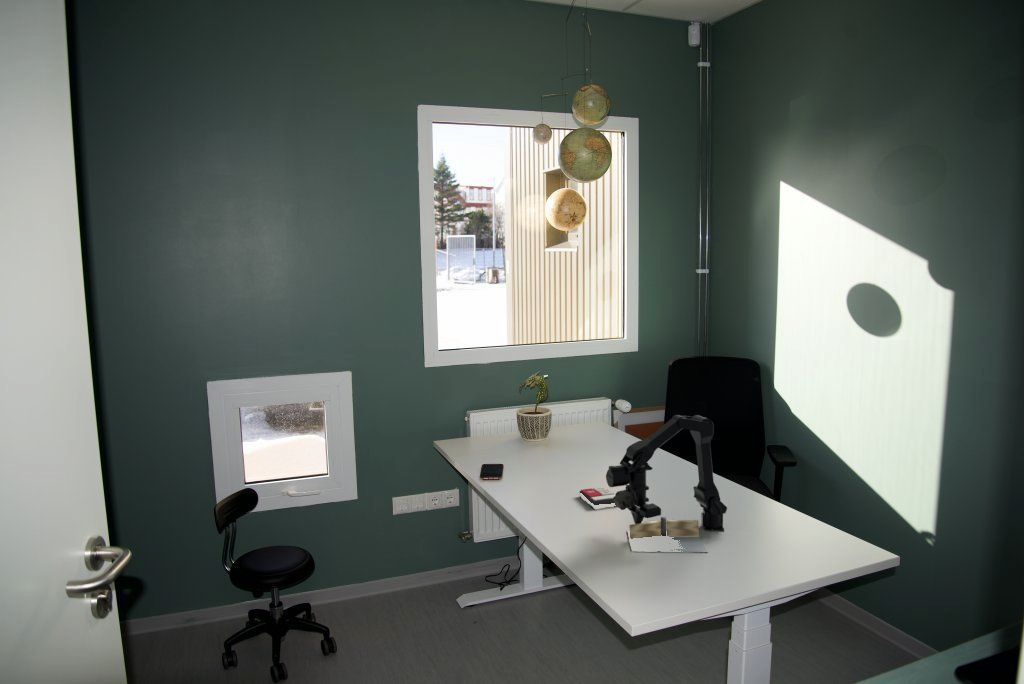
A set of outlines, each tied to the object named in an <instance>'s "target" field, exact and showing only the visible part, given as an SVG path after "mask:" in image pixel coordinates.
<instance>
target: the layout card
mask: <svg viewBox="0 0 1024 684" xmlns="http://www.w3.org/2000/svg"><path fill="white" fill-rule="evenodd" d="M669 537H674V538H672V539H674V540H678V541H679V540H680V541H679V542H680V543H679V542H678V543H679V545H680V544H681V545H680V546H682V547H683V549H676V550H678V551H680V550H681V552H682V551H683V552H703V553H702V554H708V553H707V552H708V550H707V548H706V546H705V543H704V541H703V540H702V538H701V535H700V534H699V536H669ZM669 544H670V543H669ZM680 546H679V547H680ZM682 547H681V548H682ZM684 548H685V549H684ZM670 550H671V549H670ZM674 550H675V549H674ZM671 551H673V550H671ZM705 552H706V553H705Z"/></svg>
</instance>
